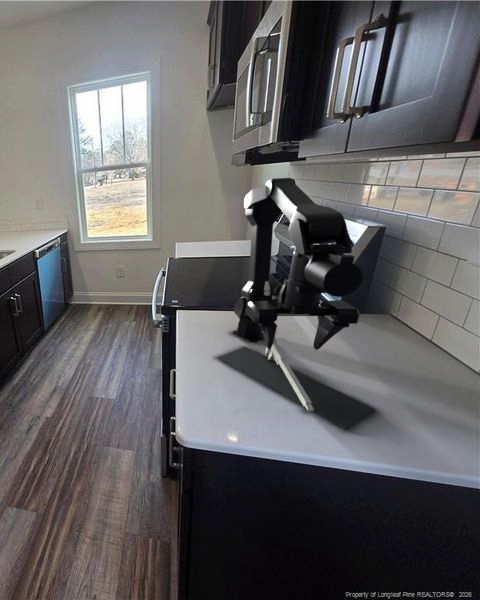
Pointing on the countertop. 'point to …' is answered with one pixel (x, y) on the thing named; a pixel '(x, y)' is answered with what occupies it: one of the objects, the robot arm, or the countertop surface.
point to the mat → (321, 396)
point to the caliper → (288, 373)
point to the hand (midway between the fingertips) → (291, 348)
